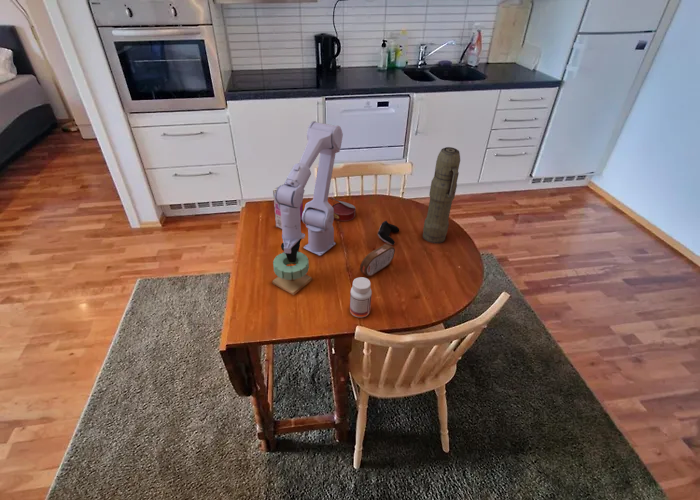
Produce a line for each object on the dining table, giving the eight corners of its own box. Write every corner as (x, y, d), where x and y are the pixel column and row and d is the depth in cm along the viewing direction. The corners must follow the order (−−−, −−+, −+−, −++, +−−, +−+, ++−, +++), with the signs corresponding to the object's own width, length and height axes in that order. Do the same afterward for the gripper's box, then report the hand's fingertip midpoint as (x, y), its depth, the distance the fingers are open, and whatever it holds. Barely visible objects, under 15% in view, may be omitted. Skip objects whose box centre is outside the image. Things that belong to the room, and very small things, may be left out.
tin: (388, 258, 140) (390, 238, 135) (395, 262, 138) (397, 242, 133) (358, 277, 131) (359, 256, 126) (365, 281, 129) (367, 261, 124)
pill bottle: (359, 300, 122) (360, 272, 115) (374, 311, 119) (377, 282, 112) (345, 311, 118) (346, 282, 111) (360, 321, 115) (362, 293, 108)
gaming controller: (392, 234, 156) (380, 221, 154) (400, 229, 153) (389, 216, 151) (386, 249, 147) (374, 236, 145) (395, 244, 145) (383, 230, 143)
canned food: (332, 221, 167) (329, 197, 165) (355, 218, 167) (352, 194, 166) (332, 223, 156) (329, 198, 154) (357, 220, 156) (354, 194, 155)
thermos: (434, 226, 157) (450, 141, 136) (452, 242, 149) (472, 154, 128) (415, 231, 154) (429, 145, 133) (433, 247, 146) (450, 158, 125)
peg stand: (291, 269, 133) (290, 255, 130) (311, 280, 129) (311, 265, 126) (272, 283, 127) (270, 269, 123) (293, 295, 123) (292, 280, 119)
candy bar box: (284, 231, 151) (281, 193, 142) (275, 227, 154) (271, 189, 144) (304, 219, 159) (302, 182, 149) (294, 215, 161) (292, 178, 151)
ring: (290, 254, 131) (289, 246, 129) (315, 266, 126) (315, 259, 125) (266, 270, 124) (266, 263, 122) (293, 284, 119) (292, 276, 117)
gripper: (299, 236, 113) (301, 273, 121) (308, 210, 125) (309, 245, 133) (275, 235, 113) (279, 271, 121) (286, 209, 125) (288, 244, 133)
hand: (293, 258), depth 127 cm, fingers closed on ring, 3 cm apart
